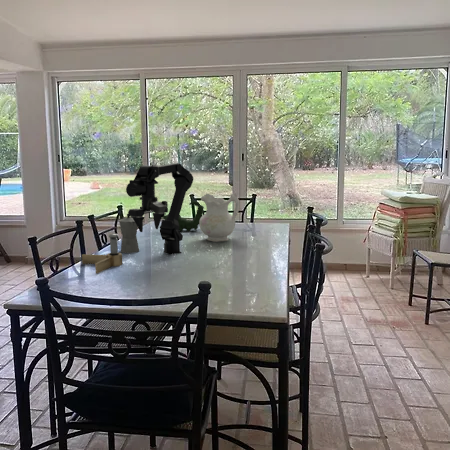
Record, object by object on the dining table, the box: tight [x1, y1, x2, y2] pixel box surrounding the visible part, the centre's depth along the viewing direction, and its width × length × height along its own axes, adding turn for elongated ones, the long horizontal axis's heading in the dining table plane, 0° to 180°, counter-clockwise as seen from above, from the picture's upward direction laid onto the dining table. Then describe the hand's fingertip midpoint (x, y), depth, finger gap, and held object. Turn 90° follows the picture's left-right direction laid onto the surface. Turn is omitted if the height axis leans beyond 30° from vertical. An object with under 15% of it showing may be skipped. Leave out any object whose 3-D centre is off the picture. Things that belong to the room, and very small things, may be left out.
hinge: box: [81, 252, 124, 274], centre depth 190 cm, size 14×19×4 cm
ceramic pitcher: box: [198, 193, 240, 243], centre depth 241 cm, size 22×20×25 cm
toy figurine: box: [161, 200, 205, 232], centre depth 267 cm, size 9×19×25 cm
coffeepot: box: [118, 213, 140, 254], centre depth 216 cm, size 15×9×18 cm, turn 33°
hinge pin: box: [108, 233, 119, 256], centre depth 191 cm, size 4×4×13 cm
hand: (149, 230), depth 198 cm, fingers open, 9 cm apart
